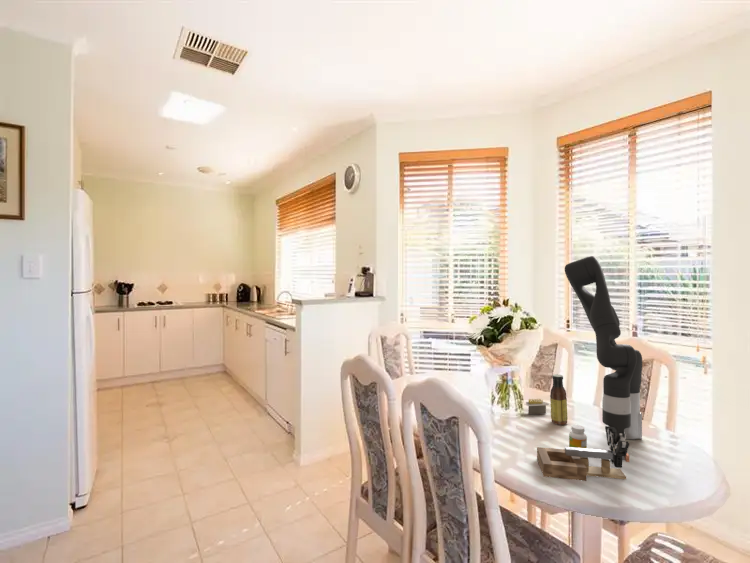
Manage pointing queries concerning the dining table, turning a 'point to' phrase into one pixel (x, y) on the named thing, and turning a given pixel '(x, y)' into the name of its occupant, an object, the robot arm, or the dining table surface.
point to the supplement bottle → (577, 437)
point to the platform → (536, 406)
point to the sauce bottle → (558, 401)
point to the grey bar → (593, 453)
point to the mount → (603, 469)
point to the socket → (560, 464)
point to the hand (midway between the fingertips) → (616, 464)
